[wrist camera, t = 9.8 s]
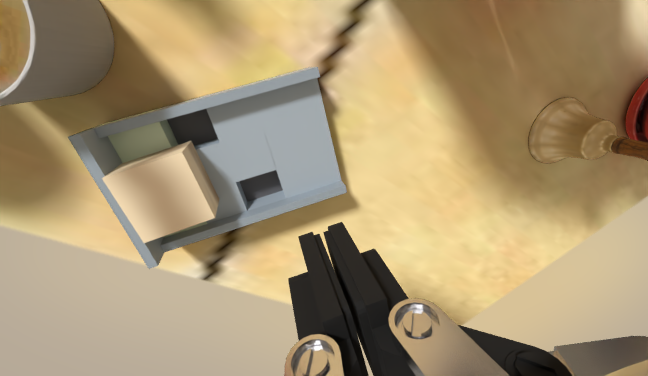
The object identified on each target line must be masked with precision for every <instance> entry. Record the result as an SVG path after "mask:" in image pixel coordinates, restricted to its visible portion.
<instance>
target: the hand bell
mask: <svg viewBox="0 0 648 376" xmlns="http://www.w3.org/2000/svg"><path fill="white" fill-rule="evenodd" d="M529 149H530V152H531V155H532V156H533V157H534V158H535V159H536V160H537V161H539V162H542V163H552V162H557V161H560V160H562V159H564V158H566V157H575V158H583V159H589V160H591V159H597V158H599V157H601V156H603V155H604V154H606V153H607V152H608V151H609V152H614V153H617V154H623V155H628V156H634V157H638V158H642V159H645V160H647V161H648V143H646V142H641V141H637V140H633V139H628V138H625V137H619V136H617V129H616V126H615V125H614V124H613V123H612V122H610V121H608V120H603V119H600V118H597V117H594V116H592V115H590V114H589V113H587V110H586V108H585V106H584V105H583V104H582V103H581V102H580V101H578V100H577V99H574V98H562V99H558V100H556V101H554V102H552V103H551V104H549V105H548V106H547V107H546V108H545V109H544V110H543V111H542V112H541V113H540V114H539V115H538V117H537V118H536V120H535V122H534V124H533V126H532V128H531V131H530V135H529Z"/></svg>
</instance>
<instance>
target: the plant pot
mask: <svg viewBox="0 0 648 376" xmlns="http://www.w3.org/2000/svg"><path fill="white" fill-rule="evenodd" d="M626 131H627V134H628V136H629V138H630V139H633V140H637V141H641V142H646V143H648V77H647V78H646V80H645V81H644V82H643V83H642V84H641V86H640V87H639V88H638V90H637V91H636V93H635V94H634V96H633V98H632V100H631V102H630V105H629V108H628V111H627V115H626Z"/></svg>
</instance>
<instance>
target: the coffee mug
mask: <svg viewBox="0 0 648 376" xmlns="http://www.w3.org/2000/svg"><path fill="white" fill-rule="evenodd" d="M113 54H114V37H113V31H112V28H111V25H110V22H109V19H108V17H107V14H106V12H105V10H104V8H103V7H102V5H101V3H100V2H99V0H0V106H3V105H10V104H17V103H23V102H30V101H37V100H44V99H50V98H57V97H64V96H71V95H76V94H80V93H82V92H85V91H87V90H89V89H91V88H93V87H94V86H96V85H97V84H98V83H99V82H100V81H101V80H102V79H103V78H104V77H105V75H106V74H107V72H108V70H109V68H110V66H111V64H112V60H113Z"/></svg>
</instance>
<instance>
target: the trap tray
mask: <svg viewBox="0 0 648 376" xmlns="http://www.w3.org/2000/svg"><path fill="white" fill-rule="evenodd" d="M318 77H320V75H319V70H318V67H309V68H305V69H301V70H298V71H294V72H290V73H287V74H283V75H279V76H276V77H272V78H268V79H265V80H261V81H257V82H254V83H250V84H246V85H243V86H239V87H235V88H232V89H228V90H224V91H221V92H217V93H213V94H210V95H206V96H202V97H199V98H195V99H191V100H188V101H184V102H180V103H177V104H173V105H169V106H166V107H162V108H159V109H155V110H151V111H148V112H144V113H140V114H137V115H133V116H129V117H126V118H122V119H118V120H115V121H111V122H107V123H104V124H101V125H99V126H96V127H93V128H91V129H88V130H85V131H83V132H80V133H77V134H74V135H72V136H69V137H68V138H69V140H70V142H71V143H72V145H73V146H74V148H75V150H76V151H77V153H78V155H79V156H80V158H81V159H82V161H83V163H84V164H85V166H86V168H87V169H88V171H89V172H90V174H91V176H92V177H93V179H94V181H95V182H96V184H97V185H98V187H99V189H100V190H101V192H102V194H103V195H104V197H105V198H106V200H107V202H108V203H109V205H110V207H111V208H112V210H113V211H114V213H115V215H116V216H117V218H118V220H119V221H120V223H121V224H122V226H123V228H124V229H125V231H126V233H127V234H128V236H129V237H130V239H131V241H132V242H133V244H134V246H135V247H136V249H137V250H138V252H139V254H140V255H141V257H142V259H143V260H144V262H145V263H146V265H147V267H148V268H153V267H156V266H158V265H159V263H160V260H161V258H162V256H163V254H164V252H167V251H170V250H173V249H176V248H179V247H182V246H185V245H188V244H191V243H194V242H197V241H200V240H203V239H206V238H209V237H213V236H216V235H219V234H222V233H225V232H228V231H231V230H234V229H237V228H240V227H243V226H246V225H249V224H252V223H255V222H258V221H261V220H264V219H267V218H270V217H274V216H277V215H280V214H283V213H286V212H289V211H292V210H295V209H298V208H301V207H304V206H307V205H310V204H313V203H316V202H319V201H322V200H325V199H328V198H331V197H335V196H338V195H341V194H344V193H347V190H346V186H345V184H344V183H343V182H342V181H341V176H340V172H339V168H338V164H337V160H336V155H335V151H334V147H333V143H332V139H331V134H330V130H329V126H328V122H327V118H326V113H325V109H324V105H323V101H322V97H321V92H320V88H319V84H318V80H317V78H318ZM189 141H192V143H193V145H194V147H195V149H196V151H197V153H198V156H199V158H200V160H201V162H202V164H203V166H204V168H205V170H206V172H207V174H208V176H209V178H210V180H211V183H212V185H213V187H214V189H215V191H216V193H217V195H218V197H219V204H218V208H217V212H216V216H215V218H214V219H211V220H208V221H205V222H202V223H199V224H197V225H194V226H191V227H188V228H185V229H183V230H180V231H177V232H174V233H171V234H168V235H166V236H163V237H160V238H157V239H154V240H152V241H149V242H146V243H143V241H142V240H141V238H140V237H139V235H138V233H137V232H136V230H135V229H134V227H133V226H132V224H131V223H130V221H129V220H128V218H127V216H126V215H125V213H124V212H123V210H122V209H121V207H120V206H119V204H118V203H117V201H116V200H115V198H114V196H113V195H112V193H111V192H110V190H109V189H108V187H107V186H106V184H105V183H104V181H103V179H102V178H103V177H104V176H106V175H107V174H109V173H110V172H111V171H113V170H114V169H115V168H117V167H118V166H119V165H121V164H122V163H124V162H127V161H131V160H134V159H137V158H140V157H143V156H146V155H149V154H152V153H155V152H158V151H161V150H164V149H167V148H170V147H173V146H177V145H180V144H183V143H186V142H189Z"/></svg>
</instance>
